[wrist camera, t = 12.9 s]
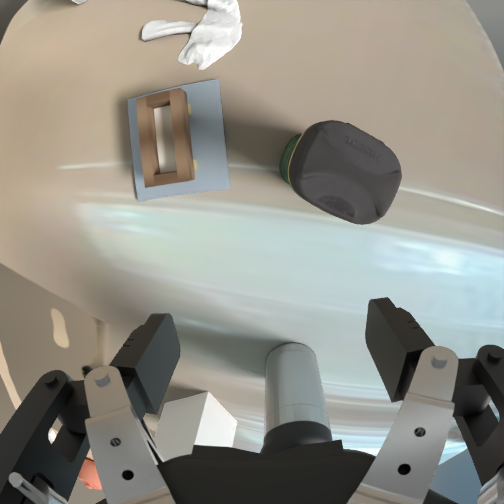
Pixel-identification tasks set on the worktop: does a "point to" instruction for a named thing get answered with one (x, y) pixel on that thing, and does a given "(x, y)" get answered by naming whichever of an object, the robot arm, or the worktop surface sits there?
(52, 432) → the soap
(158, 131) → the frame
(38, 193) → the worktop surface
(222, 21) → the cloth
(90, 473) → the teapot
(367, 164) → the coffee jar
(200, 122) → the panel
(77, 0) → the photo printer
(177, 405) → the milk
